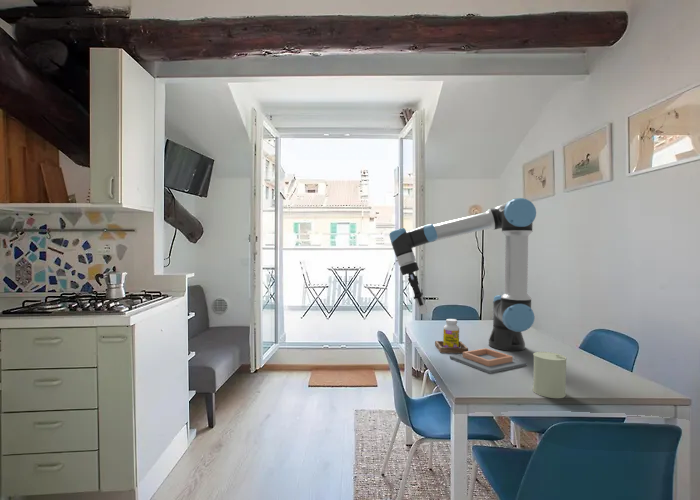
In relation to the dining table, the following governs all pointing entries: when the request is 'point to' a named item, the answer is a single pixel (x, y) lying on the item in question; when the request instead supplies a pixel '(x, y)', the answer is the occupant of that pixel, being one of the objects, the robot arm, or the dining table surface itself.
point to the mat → (488, 368)
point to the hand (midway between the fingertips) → (424, 311)
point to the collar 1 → (450, 350)
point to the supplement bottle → (451, 334)
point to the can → (549, 374)
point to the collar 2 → (500, 356)
